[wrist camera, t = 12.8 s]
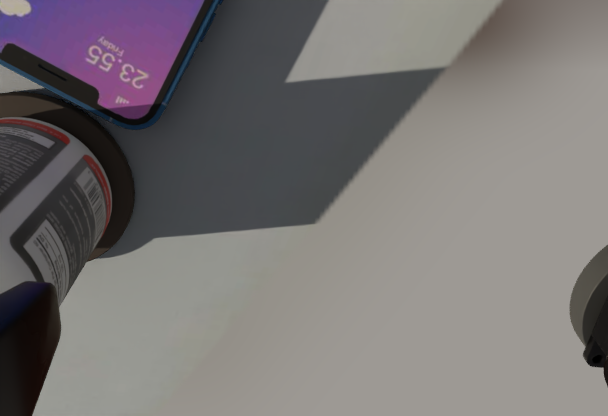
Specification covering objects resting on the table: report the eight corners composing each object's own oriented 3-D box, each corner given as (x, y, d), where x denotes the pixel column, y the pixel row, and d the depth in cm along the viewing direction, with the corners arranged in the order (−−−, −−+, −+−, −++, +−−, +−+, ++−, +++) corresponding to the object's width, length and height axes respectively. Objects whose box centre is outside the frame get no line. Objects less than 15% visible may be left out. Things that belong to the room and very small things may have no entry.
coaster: (131, 101, 19) (128, 105, 19) (138, 268, 22) (135, 274, 22) (-77, 82, 19) (-84, 85, 18) (-40, 255, 22) (-45, 260, 22)
